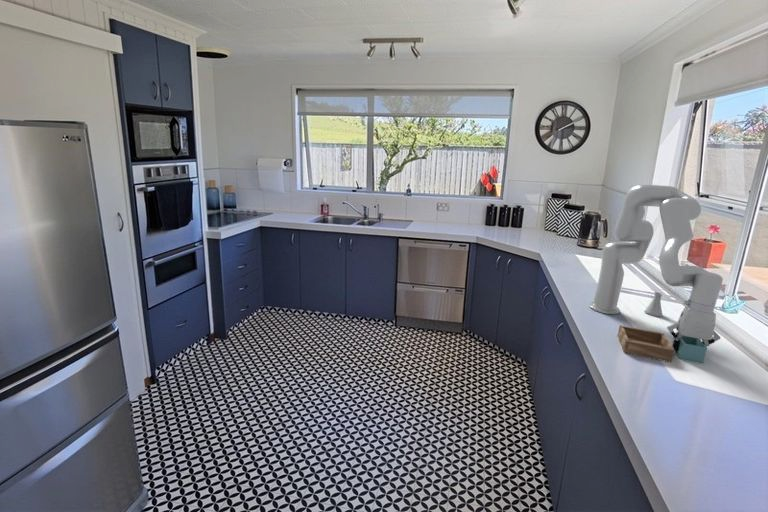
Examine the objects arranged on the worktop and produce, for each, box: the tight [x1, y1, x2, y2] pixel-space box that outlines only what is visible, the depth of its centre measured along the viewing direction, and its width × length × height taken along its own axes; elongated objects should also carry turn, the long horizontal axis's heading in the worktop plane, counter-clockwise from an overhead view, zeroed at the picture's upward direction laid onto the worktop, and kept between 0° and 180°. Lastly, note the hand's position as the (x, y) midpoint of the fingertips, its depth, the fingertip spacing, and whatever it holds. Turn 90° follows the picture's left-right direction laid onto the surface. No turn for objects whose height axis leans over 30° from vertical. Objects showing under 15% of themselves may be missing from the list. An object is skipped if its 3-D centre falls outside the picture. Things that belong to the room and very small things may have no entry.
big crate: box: [616, 325, 675, 363], centre depth 155 cm, size 15×15×4 cm
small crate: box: [671, 336, 708, 364], centre depth 151 cm, size 10×7×6 cm
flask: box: [644, 291, 663, 318], centre depth 189 cm, size 7×7×10 cm
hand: (687, 351), depth 152 cm, fingers closed on small crate, 7 cm apart
